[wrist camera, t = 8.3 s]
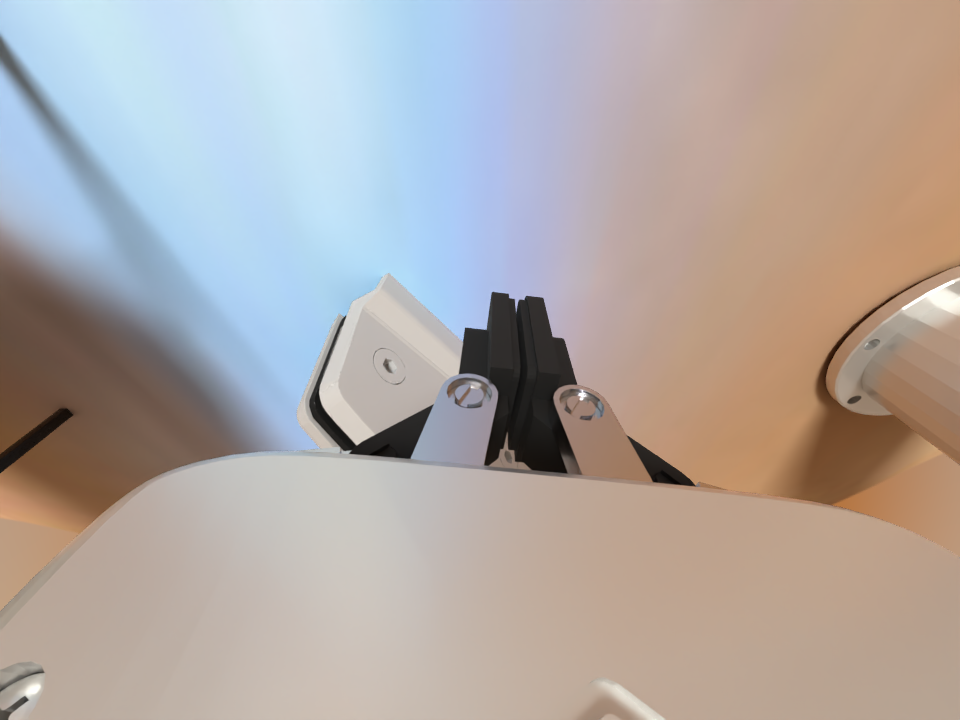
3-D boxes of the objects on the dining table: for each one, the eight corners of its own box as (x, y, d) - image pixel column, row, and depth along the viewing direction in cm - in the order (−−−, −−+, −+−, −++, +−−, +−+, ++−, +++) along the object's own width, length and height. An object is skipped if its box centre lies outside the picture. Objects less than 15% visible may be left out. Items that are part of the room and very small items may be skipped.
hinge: (542, 416, 28) (554, 548, 20) (497, 436, 30) (492, 561, 23) (383, 267, 20) (307, 394, 12) (337, 309, 22) (249, 437, 15)
